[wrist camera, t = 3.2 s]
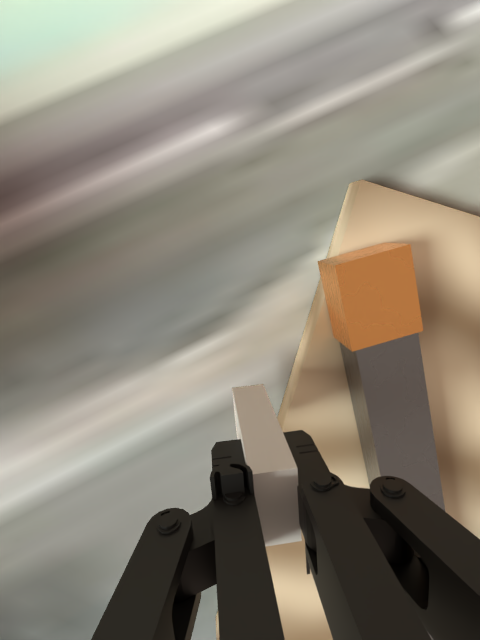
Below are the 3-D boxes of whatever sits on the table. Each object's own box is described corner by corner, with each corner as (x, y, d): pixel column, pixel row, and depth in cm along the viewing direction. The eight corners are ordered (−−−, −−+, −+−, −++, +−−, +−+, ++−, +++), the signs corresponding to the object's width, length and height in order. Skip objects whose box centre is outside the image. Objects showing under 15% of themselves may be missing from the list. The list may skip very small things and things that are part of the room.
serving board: (483, 646, 28) (499, 669, 26) (215, 617, 24) (216, 641, 23) (662, 281, 22) (695, 285, 21) (349, 183, 19) (361, 179, 18)
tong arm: (451, 639, 25) (480, 687, 22) (399, 656, 25) (423, 706, 22) (385, 242, 18) (416, 243, 16) (315, 261, 18) (335, 266, 16)
